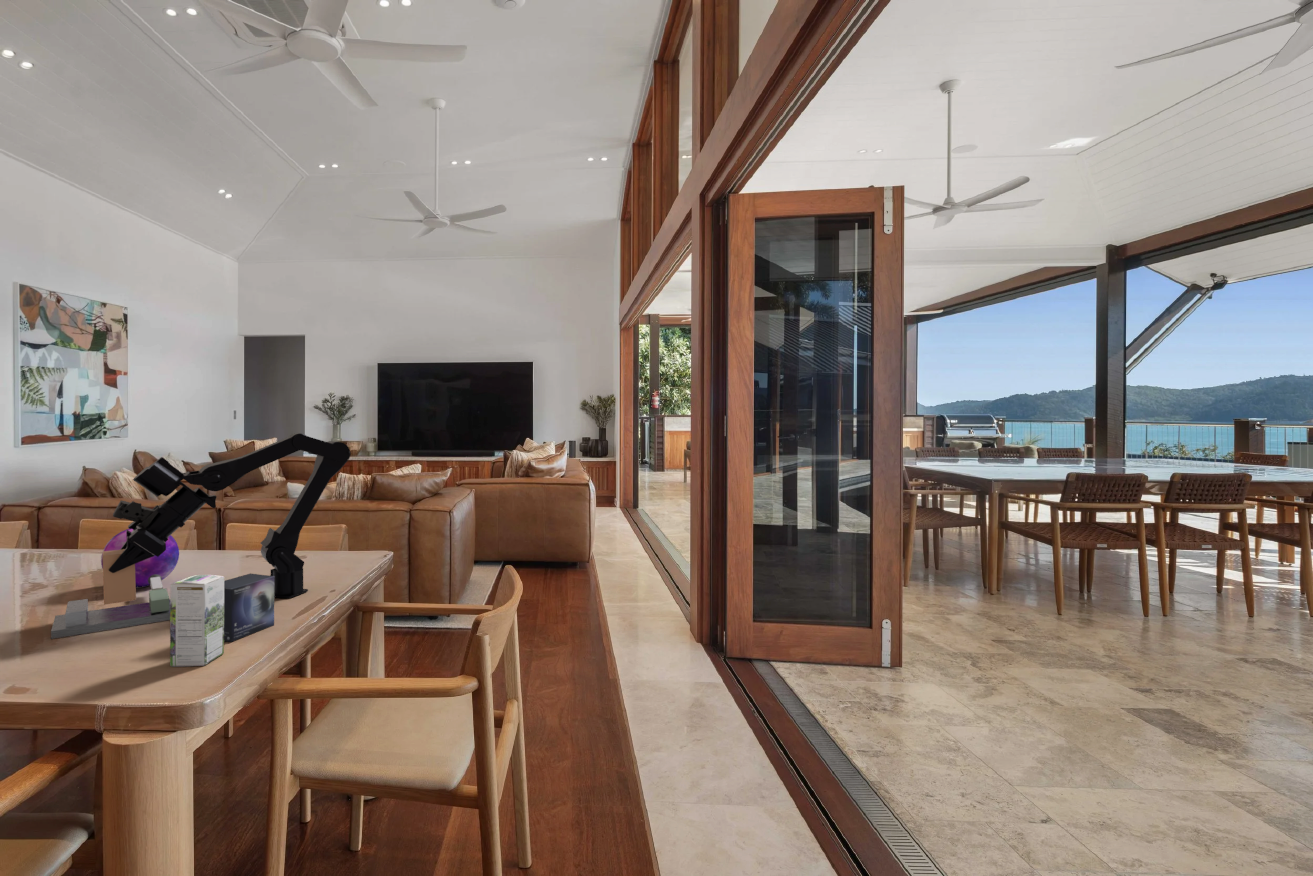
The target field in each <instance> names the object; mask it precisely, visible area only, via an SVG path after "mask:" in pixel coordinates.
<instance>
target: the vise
mask: <svg viewBox="0 0 1313 876" xmlns="http://www.w3.org/2000/svg"><path fill="white" fill-rule="evenodd" d="M169 605H170V598H169ZM166 621H170V610H168V611H161V612H155V613H151V609H150V603H149V602H148V601H147V602H141V603H133V604H128V605H127V604H126V605H122V606H121V605H120V606H113V607H108V608H100V609H99V608H98V609H93V610H89V599H88V598H86V599H78V600H70V601H67V605H66V609H65V613H64V614H59V615H58V614H57V615H54V620H53V623H52V627H51V630H50V639H51V640H52V639H58V638H59V639H60V638H66V637H67V638H68V637H70V636H71V637H72V636H79V635H85V634H90V633H97V632H102V631H110V630H116V629H122V628H127V627H129V628H130V627H134V626H141V625H147V624H152V623H159V622H166Z"/></svg>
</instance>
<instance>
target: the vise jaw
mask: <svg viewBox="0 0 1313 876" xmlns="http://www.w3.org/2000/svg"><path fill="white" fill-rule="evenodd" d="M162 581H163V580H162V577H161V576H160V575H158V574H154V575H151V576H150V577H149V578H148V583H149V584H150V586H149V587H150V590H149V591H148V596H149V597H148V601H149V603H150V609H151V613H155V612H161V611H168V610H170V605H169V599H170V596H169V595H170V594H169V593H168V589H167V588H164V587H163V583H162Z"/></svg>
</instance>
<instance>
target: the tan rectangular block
mask: <svg viewBox="0 0 1313 876" xmlns="http://www.w3.org/2000/svg"><path fill="white" fill-rule="evenodd" d="M124 550H125V549H122V550H113V551H103V550H102V552H103V568H102V578H103V585H102V587H103V605H104V606H106V605H111V604H118V603H123V602H133V601H137V589H136V582H135V564H133V565H131V566H129V567H126V568H124V569H122V570H119V571H117V572H115V573H112V572H110V571H109V568H110V567H111V566H112V564H113V563H114V562H115V561H116V560H117V558H118V557H119V556H120V555H121V554H122V552H123V551H124Z"/></svg>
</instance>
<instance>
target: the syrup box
mask: <svg viewBox="0 0 1313 876" xmlns="http://www.w3.org/2000/svg"><path fill="white" fill-rule="evenodd" d="M224 581H225V576H223V575H215V574H197V575H191V576H189V577H186V578H183V579H180V580H178V581H175V582H173V583H171V584H170V593H169V595H170V596H169V599H170V620H169V621H170V623H169V627H170V628H169V634H170V635H169V637H170V638H169V639H170V640H169V663H170V664H169V665H170V667H197V666H198V667H201V666H202V667H203V666H206V665H208V664H209V663H211V662H213V661H215V660H216V659H218V658H219V657H221V656H222V655H224V653H225V641H224Z"/></svg>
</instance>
